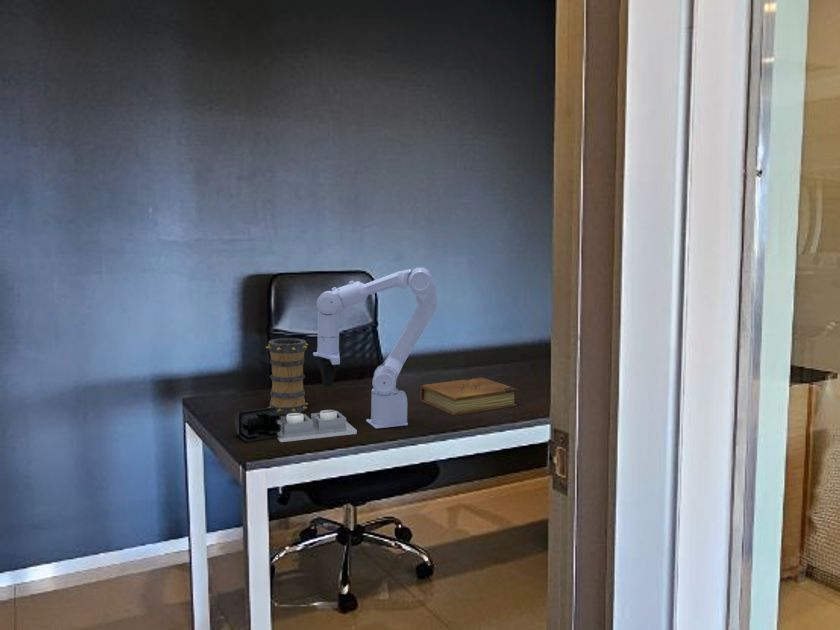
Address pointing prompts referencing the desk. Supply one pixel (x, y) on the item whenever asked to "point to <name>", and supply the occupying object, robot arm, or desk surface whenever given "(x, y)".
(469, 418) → the desk surface
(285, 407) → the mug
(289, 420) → the knob
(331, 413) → the knob
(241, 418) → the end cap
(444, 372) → the desk surface
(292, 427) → the mount
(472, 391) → the diary
